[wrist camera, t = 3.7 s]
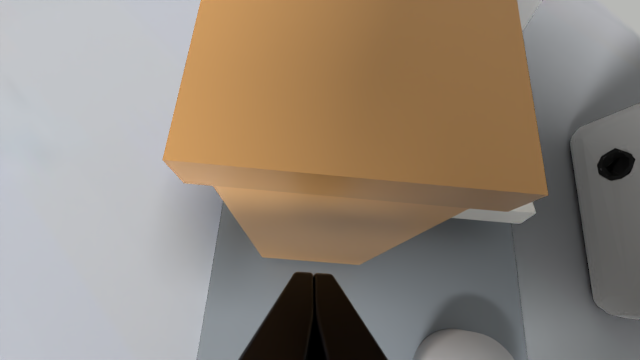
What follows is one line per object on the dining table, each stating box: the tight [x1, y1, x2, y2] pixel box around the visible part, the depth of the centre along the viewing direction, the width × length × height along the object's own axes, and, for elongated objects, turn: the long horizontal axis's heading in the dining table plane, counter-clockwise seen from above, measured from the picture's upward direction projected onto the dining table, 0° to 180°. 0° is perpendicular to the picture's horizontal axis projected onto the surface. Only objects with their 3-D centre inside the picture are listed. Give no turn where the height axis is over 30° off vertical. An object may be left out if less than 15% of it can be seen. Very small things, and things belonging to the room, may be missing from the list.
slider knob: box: [163, 0, 548, 265], centre depth 10 cm, size 4×4×11 cm
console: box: [197, 201, 528, 360], centre depth 14 cm, size 18×13×3 cm
